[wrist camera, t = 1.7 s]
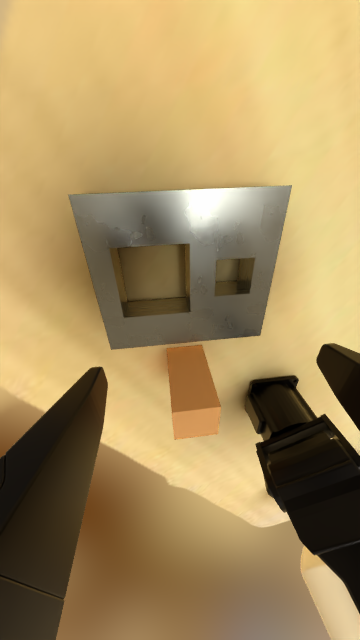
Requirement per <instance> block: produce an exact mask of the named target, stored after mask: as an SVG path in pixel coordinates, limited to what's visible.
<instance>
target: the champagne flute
mask: <svg viewBox="0 0 360 640" xmlns="http://www.w3.org/2000/svg"><path fill="white" fill-rule="evenodd" d="M301 574H302V576H303V579H304V581H305V583H306V585H307V587H308V589H309V592H310V594H311V596H312V598H313V601H314V603H315V605H316V607H317V610H318V612H319V614H320V616H321V618H322V621H323V623H324V625H325V627H326V629H327V632H328V634H329V636H330V638H331V640H360V614H359V612H358V610H357V608H356V606H355V604H354V602H353V600H352V598H351V596H350V594H349V592H348V590H347V588H346V586H345V584H344V583H343V581H342V580H341V579H340V578H339V577H338V576H337V575H336V574H335V573H334V572H333V571H332V570H331V569H330V568H329V567H328V566H327V565H326V564H325V563H324V562H323V561H322V560H321V559H320V558H319V557H318V556H317V555H315V556H314V555H313V554H312V553H311V552H310V551H309V550H308V549H307V548H306V547H305V546H304V548H303V552H302V556H301Z"/></svg>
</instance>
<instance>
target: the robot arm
mask: <svg viewBox="0 0 360 640" xmlns="http://www.w3.org/2000/svg"><path fill="white" fill-rule="evenodd" d="M316 361H317V365H318V367H319V368H320V370H321V372H322V374H323V375H324V377H325V379H326V381H327V382H328V384H329V386H330V387H331V389H332V391H333V393H334V394H335V396H336V398H337V399H338V401H339V402H340V404H341V405H342V406H343V408H344V409H345V411H346V412H347V414H348V415H349V416H350V418H351V419H352V421H353V422H354V424H355V425H356V426H357V428H358V429H359V431H360V353H357V352H355V351H352V350H350V349H347V348H345V347H342V346H340V345H337V344H334V343H330V344H324V345H323V346H322V347H321V349H320V352H319V354H318V356H317V360H316ZM298 381H299V380H298V378H297V377H296V376H292V377H283V378H274V379H265V380H256V381H252V382H251V384H250V389H249V393H248V395H247V399H246V404H245V410H246V412H247V413H248V415H249V417H250V419H251V422H252V424H253V426H254V429H255V431H256V433H257V434H261V436H262V438H263V440H264V441H263V442H261V443H260V442H259V443H256V447H257V451H256V452H257V455H258V457H259V461H260V464H261V467H262V471H263V474H264V480H265V485H266V490H267V492H268V494H269V495H270V496H271V497H273V498H274V499H275V501H276V502H277V504H278V505H279V507H280V509H281V510H282V511H283V512H287V513H288V515H289V517H290V519H291V522H292V524H293V526H294V528H295V530H296V532H297V534H298V537H299V539H300V540H301V542H302V543H303V544H304V545H305V547H306V548H307V549H308V550H309V551H310V552H311V553H312V554H313V555H314V556H315V555H317V556H318V557H319V558H320V559H321V560H322V561H323V562H324V563H325V564H326V565H327V566H328V567H329V568H330V569H331V570H332V571H333V572H334V573H335V574H336V575H337V576H338V577H339V578H340V579H341V580H342V581H343V583H344V584H345V586H346V588H347V590H348V592H349V594H350V596H351V598H352V600H353V602H354V604H355V606H356V608H357V610H358V612H359V614H360V456H359V455H358V453H357V452H356V451H355V449H354V448H353V447H352V446H351V444H350V443H349V442H348V441H347V440H346V438H345V437H344V436H343V435H342V434H341V432H340V431H339V430H338V429H337V428H336V427H335V425H334V424H333V423H332V422H331V421H330V419H329V418H328V417H327V416H326V415H325V414H323V415H321V417H319V418H317V417H316V415H315V414H314V412H313V411H312V410H311V408H310V407H309V405H308V404H307V403H306V401H305V400H304V399H303V397H302V396H301V394H300V393H299V392H298V390H297V389H296V386H297V383H298ZM107 388H108V383H107V379H106V376H105V373H104V370H103V368H102V367H92V368H90V369H89V370H88V371H87V372H86V373H85V374H84V375H83V376H82V377H81V378H80V379H79V380H78V381H77V382H76V383H75V384H74V385H73V386H72V387H71V388H70V389H69V390H68V391H67V392H66V393H65V394H64V395H63V396H62V397H61V398H60V399H59V400H58V401H57V402H56V403H55V404H54V405H53V406H52V407H51V408H50V409H49V410H48V411H47V412H46V413H45V414H44V415H43V416H42V417H41V418H40V419H39V420H38V421H37V422H36V423H35V424H34V425H33V426H32V427H31V428H30V429H29V430H28V431H27V432H26V433H25V434H24V435H23V436H22V437H21V438H20V439H19V440H18V441H17V442H16V443H15V444H14V445H13V446H12V447H11V448H10V449H9V450H8V451H7V452H6V455H3V456H2V457H1V458H0V640H56V636H57V632H58V627H59V622H60V618H61V614H62V609H63V605H64V598H65V595H66V591H67V586H68V582H69V577H70V573H71V568H72V564H73V559H74V555H75V550H76V546H77V541H78V537H79V533H80V528H81V524H82V519H83V515H84V510H85V505H86V501H87V497H88V492H89V488H90V483H91V479H92V475H93V470H94V466H95V460H96V457H97V452H98V448H99V443H100V439H101V434H102V430H103V424H104V416H105V407H106V397H107ZM331 438H333V439H331Z"/></svg>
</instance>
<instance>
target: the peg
mask: <svg viewBox="0 0 360 640" xmlns="http://www.w3.org/2000/svg"><path fill="white" fill-rule="evenodd" d="M167 357H168V370H169V382H170V395H171V407H172V419H173V430H174V440H175V439H183V438H191V437H199V436H207V435H214V434H218V429H219V420H220V411H221V405H220V402H219V399H218V396H217V392H216V389H215V386H214V383H213V380H212V376H211V373H210V370H209V367H208V363H207V360H206V357H205V354H204V351H203V347H202V345H197V346H186V347H176V348H167Z"/></svg>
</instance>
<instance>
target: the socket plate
mask: <svg viewBox="0 0 360 640" xmlns="http://www.w3.org/2000/svg"><path fill="white" fill-rule="evenodd" d="M291 188H292V185H289V186H266V187H242V188H218V189H194V190H170V191H146V192H122V193H98V194H74V195H68V196H69V199H70V203H71V206H72V210H73V214H74V217H75V221H76V224H77V228H78V232H79V235H80V239H81V242H82V246H83V250H84V253H85V257H86V260H87V264H88V268H89V271H90V275H91V279H92V282H93V286H94V289H95V293H96V297H97V300H98V304H99V307H100V311H101V315H102V318H103V322H104V325H105V329H106V333H107V336H108V340H109V343H110V347H111V350H112V349H123V348H133V347H144V346H154V345H165V344H175V343H186V342H196V341H207V340H217V339H228V338H238V337H249V336H259V335H260V334H261V329H262V325H263V320H264V315H265V310H266V306H267V301H268V296H269V292H270V287H271V282H272V277H273V273H274V268H275V263H276V259H277V254H278V249H279V244H280V240H281V235H282V230H283V226H284V221H285V216H286V211H287V207H288V202H289V197H290V193H291ZM172 244H185V278H186V297H181V298H169V299H156V300H143V301H131V302H128V300H127V295H126V290H125V285H124V280H123V274H122V269H121V264H120V259H119V253H118V248H122V247H139V246H155V245H172ZM239 258H240V263H239V272H238V280H237V281H227V282H215V278H216V261H217V260H224V259H239Z"/></svg>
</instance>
